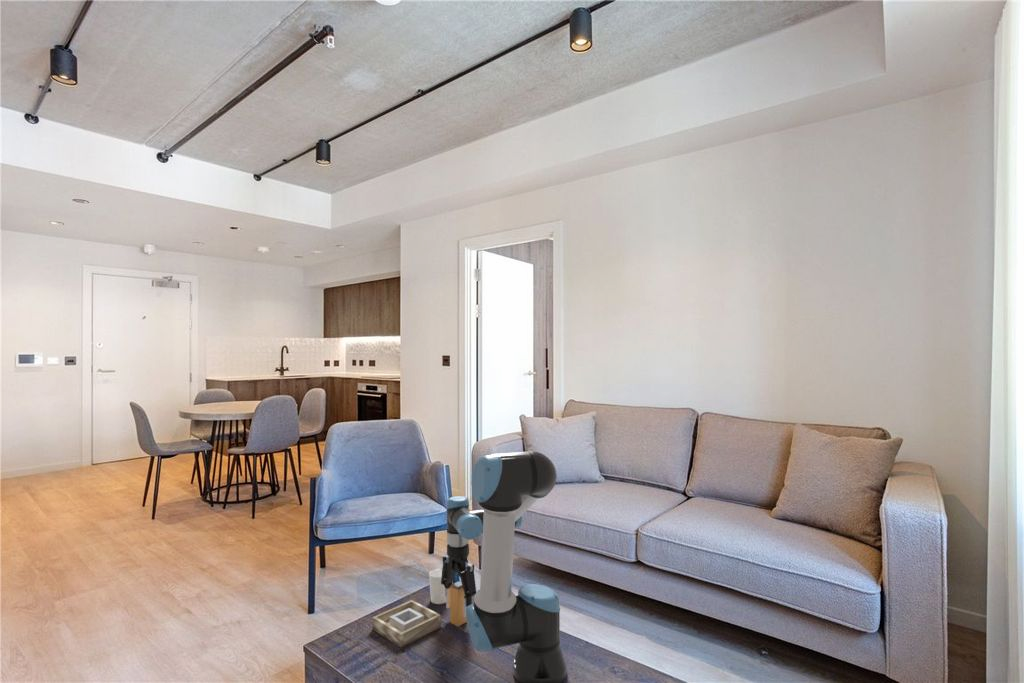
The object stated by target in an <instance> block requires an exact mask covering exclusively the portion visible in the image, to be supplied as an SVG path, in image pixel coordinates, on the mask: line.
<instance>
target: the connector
mask: <svg viewBox="0 0 1024 683" xmlns="http://www.w3.org/2000/svg"><path fill="white" fill-rule="evenodd" d="M464 596H465V594H464V590H463V586H462V582H461V581H460V580H459V581H456V582H453V584H452V586H450V608H449V619H450V620H449V622H450V624H452V625H454V626H456V627H460V626H462V625H464V624H465V623H466V624H467V619H466V617H463V597H464Z"/></svg>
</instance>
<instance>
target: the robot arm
mask: <svg viewBox="0 0 1024 683" xmlns="http://www.w3.org/2000/svg"><path fill="white" fill-rule="evenodd" d="M557 477H558V476H557V469H556V467H555V464H554V463H553V462H552V460H551V459H550V458H549V456H546V455H545V454H543V453H541V452H538V451H534V450H525V451H517V452H516V451H514V452H505V453H497V452H496V453H491V454H487V455H483V456H480V457H479V458H478V459H477V460H476V462H475V463H474V466H473V468H472V472H471V491H472V496H473V498H474V500H475V501H476V502H478V506H479V507H480V508H481V509H473V510H471V509H470V508H469V507H470V503H469V498H468V497H466V496H463V495H455V496H451V497H449V498H447V500H446V544H447V545H446V555H444V556H442V578H441V584H442V585H443V584H444V587H445V591H446V603H445V606H446V609H447V610H448V609H450V586H452V584H454V580H455V576H456V573H457V576H458V577H460V578H459V579H460V582H461V583H462V586H463V590H464V594H465V596H464V597H463V617H466V619H467V622H466V624H467V625H466V626H467V629H468V632H469V633H468V634H469V636H470V640H471V642H472V644H473V647H474V648H475V650H477V651H478V652H481V653H482V652H488V651H494V650H495V649H500V648H503V647H508V646H513V645H517V644H518V647H517V650H516V653H515V657H514V660H513V663H512V664H513V665H512V673H513V677H514V678H515V679H516V681H517V682H518V683H562V682H564V681H565V680H566V676H567V663H566V659H565V658H564V655H563V652H562V651H563V650H562V648H561V642H560V641H561V637H560V636H561V630H560V629H561V627H560V626H561V625H560V624H561V622H560V617H561V615H560V612H561V608H560V598H559V595H558V593H557V592H556V591H555V590H554V589H552V587H548V586H546V585H542V584H535V583H532V584H531V583H530V584H527V583H526V584H523V585H521V586H520V587H519V589H518V592H517V595H516V594H515V593H514V592H513V591H512V584H513V567H514V566H513V565H514V547H515V529H518V528H520V527H521V526H522V522H523V515H524V514H525V513H526V512H527V511H528V510H530V508H531V507H532V506H533V504H535V503H536V501H538V499H543V498H545V497H547V496H548V495H549V494H550V493H551V491H552V490H554V488H555V485H556V483H557V479H558V478H557ZM481 535H482V540H481V542H482V543H481V558H480V559H481V561H480V562H481V563H480V565H481V566H480V582H479V583H480V585H479V589H478V591H477V586H476V579H475V577H476V576H475V564H474V563H471V564H470V563H469V561H468V557H469V555H470V543H469V541H471V540H472V541H473V540H475V539H477V538H479V537H480V536H481ZM472 597H473V598H472ZM472 600H473V601H472ZM472 602H473V604H472Z"/></svg>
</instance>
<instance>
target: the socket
mask: <svg viewBox="0 0 1024 683" xmlns="http://www.w3.org/2000/svg"><path fill="white" fill-rule="evenodd" d="M408 619H409V620H408ZM406 620H408V621H406ZM404 621H406V622H404ZM422 622H424V615H422V614H420V613H418V612H416V611H415V610H413V609H411V608H408V609H406V610H403V611H401V612H399V613H397V614H395V615H392V616H390V625H391V626H392V627H394V628H396V629H397V630H399V631H401V632H403V631H405V630H407V629H409V628H412V627H414V626H416V625H418V624H420V623H422Z"/></svg>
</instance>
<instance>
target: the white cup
mask: <svg viewBox="0 0 1024 683" xmlns="http://www.w3.org/2000/svg"><path fill="white" fill-rule="evenodd" d="M442 568H443V567H442ZM442 568H434V569H432V570H430V571H429V574H428V578H429V581H428V582H429V593H430V603H432V604H435V605H442V604H443V605H444V604H446V591H445V587H444V584H443V585H442V584H441V578H442Z"/></svg>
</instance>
